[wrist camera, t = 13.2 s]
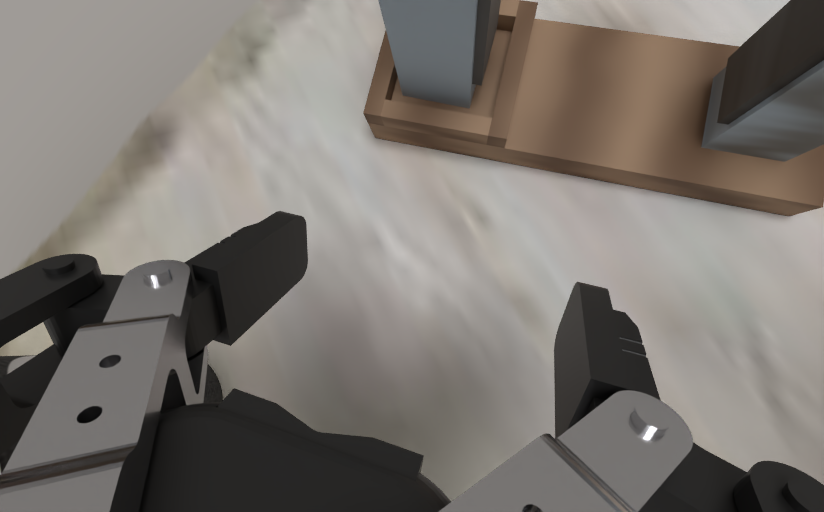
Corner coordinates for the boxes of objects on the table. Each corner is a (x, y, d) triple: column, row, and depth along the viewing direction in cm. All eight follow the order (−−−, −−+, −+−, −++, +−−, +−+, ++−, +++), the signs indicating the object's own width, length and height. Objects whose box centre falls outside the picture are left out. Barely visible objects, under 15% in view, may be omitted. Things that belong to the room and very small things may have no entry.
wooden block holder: (808, 82, 22) (1204, -171, 11) (789, 216, 22) (1195, 104, 10) (405, 23, 26) (361, -218, 14) (375, 137, 25) (301, -17, 13)
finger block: (494, 46, 23) (524, -155, 13) (477, 110, 22) (494, -47, 12) (420, 33, 23) (393, -168, 13) (402, 95, 23) (361, -66, 13)
